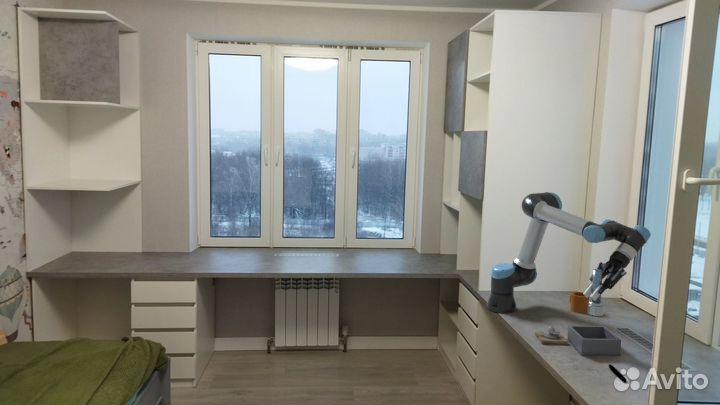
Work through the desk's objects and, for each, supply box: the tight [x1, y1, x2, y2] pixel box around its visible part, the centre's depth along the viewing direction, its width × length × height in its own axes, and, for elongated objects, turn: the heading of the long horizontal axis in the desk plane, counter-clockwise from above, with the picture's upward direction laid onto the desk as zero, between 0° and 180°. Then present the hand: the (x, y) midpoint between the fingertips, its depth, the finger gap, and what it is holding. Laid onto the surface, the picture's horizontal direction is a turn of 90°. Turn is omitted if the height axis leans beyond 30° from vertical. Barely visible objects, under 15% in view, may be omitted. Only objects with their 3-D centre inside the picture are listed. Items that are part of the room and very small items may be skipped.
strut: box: [586, 268, 605, 317], centre depth 221 cm, size 6×6×19 cm
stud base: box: [534, 326, 569, 345], centre depth 233 cm, size 11×11×6 cm
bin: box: [566, 325, 622, 357], centre depth 224 cm, size 16×16×7 cm
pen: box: [608, 363, 627, 383], centre depth 199 cm, size 2×14×2 cm, turn 179°
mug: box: [569, 291, 590, 314], centre depth 274 cm, size 9×12×9 cm
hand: (589, 297), depth 220 cm, fingers closed on strut, 3 cm apart
